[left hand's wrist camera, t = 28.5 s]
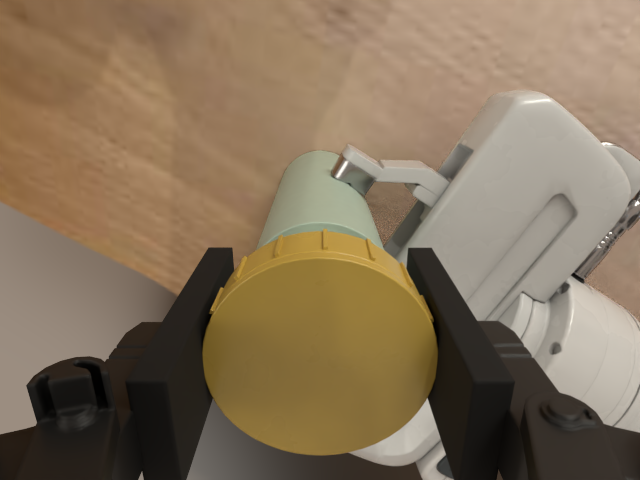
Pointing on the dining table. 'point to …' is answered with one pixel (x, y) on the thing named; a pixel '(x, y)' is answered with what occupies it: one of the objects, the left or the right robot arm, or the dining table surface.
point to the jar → (317, 202)
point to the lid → (320, 345)
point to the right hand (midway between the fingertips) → (303, 214)
